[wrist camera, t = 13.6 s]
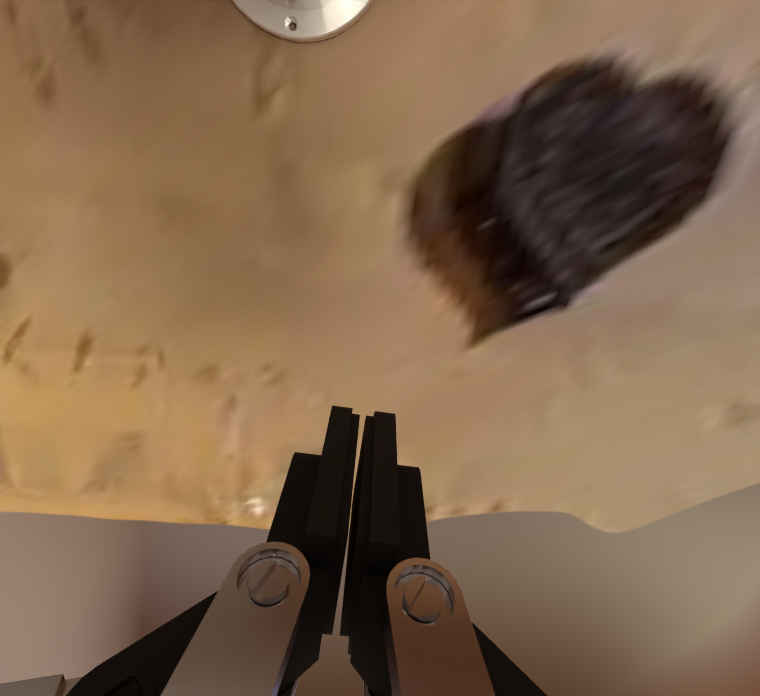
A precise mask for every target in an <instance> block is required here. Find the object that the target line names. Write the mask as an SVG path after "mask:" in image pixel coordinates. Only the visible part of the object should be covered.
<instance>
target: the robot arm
mask: <svg viewBox="0 0 760 696" xmlns="http://www.w3.org/2000/svg"><path fill="white" fill-rule="evenodd" d="M232 1H233V2H234V4H235V5H236V6H237V7H238V8H239V9H240V10H241V11H242V12H243V13H244V14H245V15H246V16H247V17H248V18H249V19H250V20H251V21H253V22H254V23H255V24H257V25H258V26H259V27H261V28H262V29H263V30H265V31H267V32H269V33H271V34H273V35H275V36H277V37H279V38H282V39H287V40H291V41H295V42H316V41H321V40H325V39H329V38H332V37H334V36H336V35H338V34H340V33H342V32H344V31H346V30H347V29H348V28H349V27H351V26H352V25H353V24H354V23H356V22H357V21H358V20H359V19H360V18H361V17H362V16H363V15H364V13H365V12H366V11H367V10H368V9H369V7H370V6H371V5H372V3H373V2H374V0H232ZM293 23H295V24H296V26H297V28H296V30H295V31H292V30H291V29H290V26H291V24H293ZM359 418H360V415H357V414H352V408H346V407H339V406H332V409H331V414H330V418H329V423H328V428H327V432H326V437H325V442H324V446H323V451H322V455H314V454H306V453H298V452H295V453H294V455H293V458H292V461H291V464H290V467H289V471H288V474H287V477H286V480H285V484H284V487H283V490H282V493H281V496H280V500H279V503H278V506H277V509H276V513H275V516H274V519H273V522H272V526H271V529H270V532H269V535H268V539H267V542H266V543H261V544H259V545H256V546H254V547H252V548H250V549H248V550H247V551H246V552H245V553H243V554H242V555H241V556H239V558H238V559H237V561H236V562H235V563H234V564H233V566H232V567H231V569H230V571H229V573H228V574H227V576H226V578H225V580H224V582H223V583H222V585H221V587H220V589H219V590H218V591H217V592H215V593H214V594H212V595H211V596H209V597H207V598H206V599H204V600H202V601H201V602H199V603H198V604H196V605H194V606H193V607H191V608H190V609H188V610H187V611H185V612H184V613H182V614H180V615H179V616H177V617H175V618H174V619H172V620H170V621H169V622H167V623H166V624H164V625H162V626H161V627H159V628H158V629H156V630H155V631H153V632H151V633H150V634H148V635H146V636H145V637H143V638H142V639H140V640H138V641H137V642H135V643H134V644H132V645H130V646H129V647H127V648H126V649H124V650H122V651H121V652H119V653H118V654H116V655H114V656H113V657H111V658H110V659H108V660H106V661H105V662H103V663H101V664H100V665H98V666H97V667H95V668H94V669H93V670H92V671H90V672H89V673H88V674H86V675H85V676H84V677H79V678H73V679H67V680H65V678H64V675H63V674H59V675H53V676H47V677H40V678H34V679H28V680H21V681H15V682H9V683H2V684H0V696H294V694H295V691H296V687H297V683H298V677H299V676H301V675H302V674H303V673H304V672H305V671H306V670H307V669H308V668H309V667H311V666H312V665H313V664H314V663H315V662H316V661H317V660H318V658H319V651H320V644H321V638H322V634H330V635H332V631H333V624H334V619H335V612H336V606H337V600H338V594H339V587H340V582H341V575H342V569H343V563H344V557H345V550H346V544H347V537H348V528H349V519H350V509H351V499H352V489H353V479H354V469H355V458H356V448H357V438H358V428H359ZM340 636H349V646H348V654H351V661H350V662H351V664H352V666H353V667H354V668H355V670H356V671H357V672H358V674H359V675H360V676H361V678H362V679H363V680H364V686H363V693H364V696H547V695H546V694H545V693H544V692H543V691H542V690H541V689H540V688H539V687H538V686H537V685H536V684H535V683H534V682H533V681H532V680H530V679H529V677H528V676H526V674H525V673H524V672H522V671H521V670H520V669H519V668H518V667H517V666H516V665H515V664H514V663H513V662H512V661H511V660H510V659H509V658H508V657H507V656H506V655H505V654H504V653H503V652H502V651H501V650H500V649H499V648H498V647H497V646H496V645H495V644H494V643H493V642H492V641H491V640H490V639H488V637H487V636H485V634H483V632H481V631H480V630H479V629H478V628H477V627H476V626H475V625H474V624H473V623H472V622H471V619H470V616H469V613H468V609H467V606H466V603H465V600H464V597H463V594H462V591H461V589H460V587H459V585H458V583H457V580H456V579H455V578H454V577H453V576H452V574H451V573H450V572H449V571H448V570H447V569H445V568H444V567H443V566H441V565H440V564H439V563H436V562H434V561H431V560H430V553H429V545H428V535H427V527H426V517H425V508H424V499H423V490H422V482H421V473H420V469H419V468H418V467H410V466H402V465H397V444H396V418H395V414H392V413H384V412H377V411H375V412H374V417H373V416H366V419H365V425H364V432H363V438H362V444H361V450H360V456H359V463H358V469H357V475H356V481H355V488H354V494H353V502H352V512H351V523H350V533H349V544H348V554H347V565H346V576H345V586H344V596H343V607H342V618H341V627H340Z"/></svg>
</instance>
